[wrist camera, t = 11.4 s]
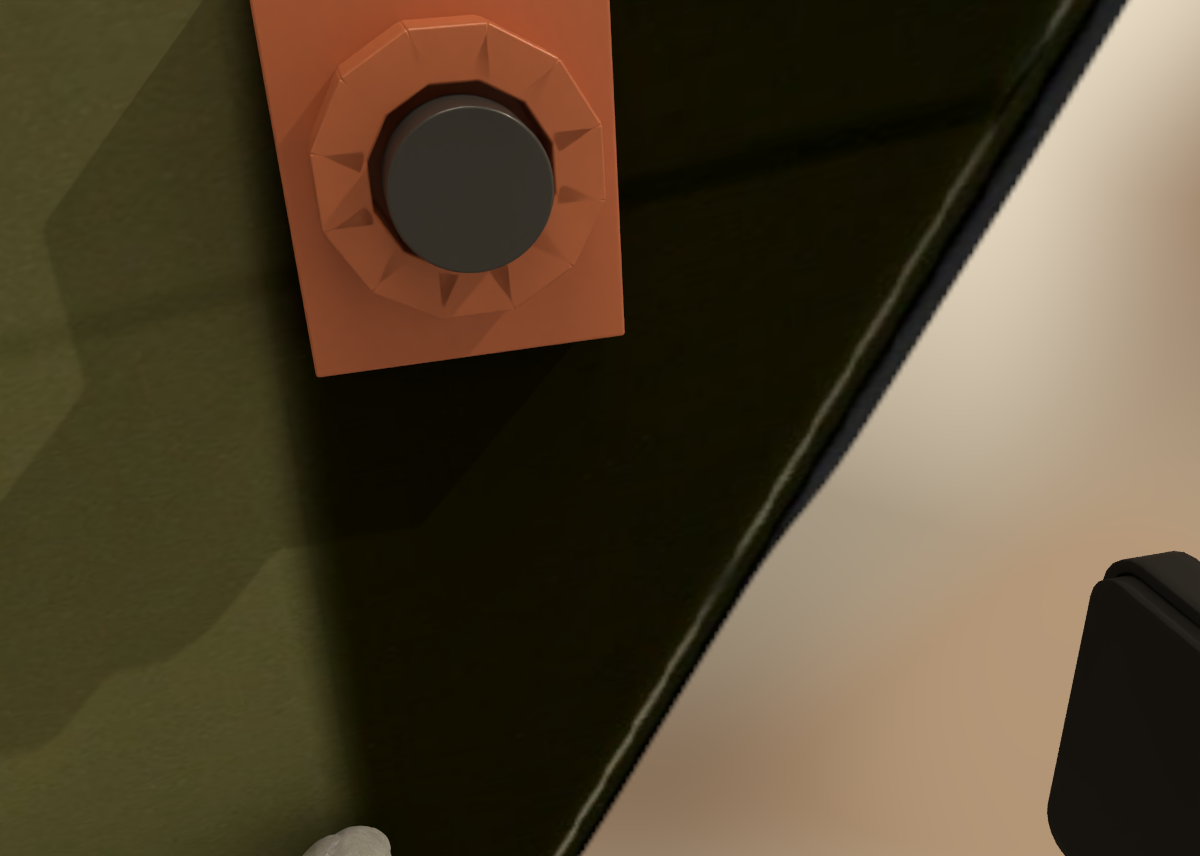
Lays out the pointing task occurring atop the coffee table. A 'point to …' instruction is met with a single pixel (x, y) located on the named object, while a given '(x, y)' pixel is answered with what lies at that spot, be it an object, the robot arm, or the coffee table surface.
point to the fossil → (352, 843)
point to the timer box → (354, 155)
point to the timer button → (466, 183)
